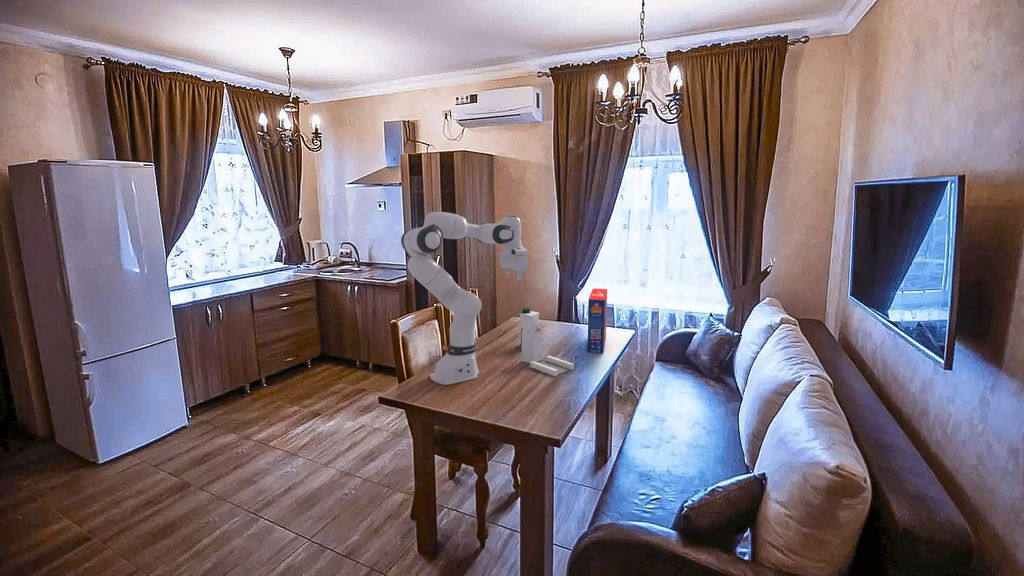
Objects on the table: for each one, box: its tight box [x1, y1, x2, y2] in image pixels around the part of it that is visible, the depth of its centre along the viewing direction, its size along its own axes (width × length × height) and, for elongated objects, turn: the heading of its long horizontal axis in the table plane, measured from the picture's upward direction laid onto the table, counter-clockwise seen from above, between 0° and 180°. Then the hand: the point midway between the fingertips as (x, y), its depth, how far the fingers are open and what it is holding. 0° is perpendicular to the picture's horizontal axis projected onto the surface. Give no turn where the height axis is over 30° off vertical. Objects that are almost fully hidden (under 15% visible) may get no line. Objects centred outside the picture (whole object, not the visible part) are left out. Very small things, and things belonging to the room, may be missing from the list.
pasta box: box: [587, 288, 608, 354], centre depth 256 cm, size 28×8×28 cm, turn 166°
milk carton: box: [521, 322, 543, 364], centre depth 233 cm, size 7×7×19 cm
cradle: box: [529, 355, 575, 377], centre depth 225 cm, size 13×16×2 cm
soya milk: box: [519, 307, 540, 347], centre depth 257 cm, size 9×9×20 cm
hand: (513, 278), depth 233 cm, fingers open, 8 cm apart
